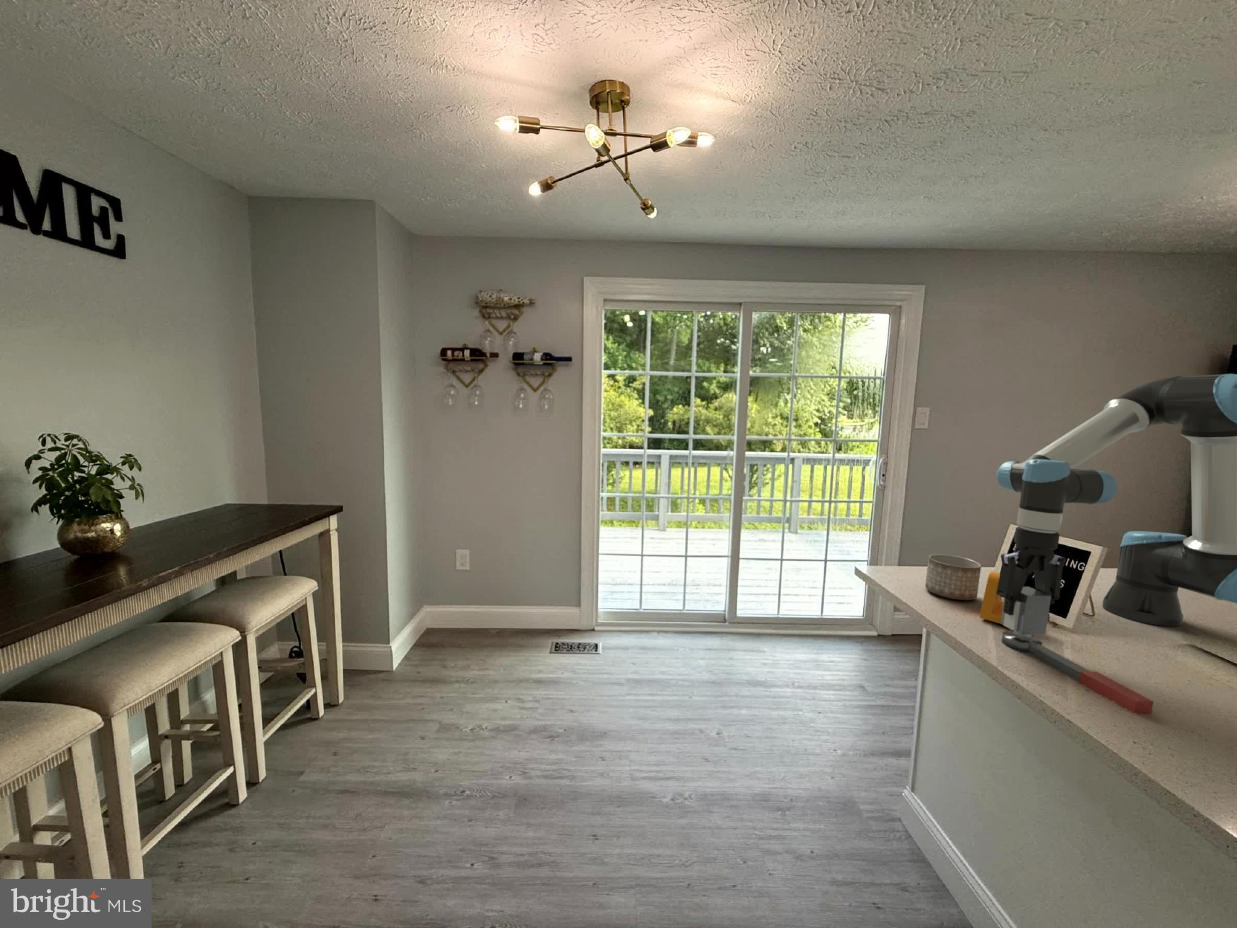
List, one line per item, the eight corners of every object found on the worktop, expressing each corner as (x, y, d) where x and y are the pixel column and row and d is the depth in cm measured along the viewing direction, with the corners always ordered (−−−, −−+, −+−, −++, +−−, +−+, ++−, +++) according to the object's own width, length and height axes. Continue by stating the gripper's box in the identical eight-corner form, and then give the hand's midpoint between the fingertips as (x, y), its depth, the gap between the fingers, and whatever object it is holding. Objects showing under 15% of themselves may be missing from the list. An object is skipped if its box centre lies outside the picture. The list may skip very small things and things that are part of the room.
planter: (987, 604, 138) (992, 568, 137) (942, 602, 139) (946, 566, 137) (957, 588, 151) (961, 554, 150) (915, 586, 151) (919, 553, 150)
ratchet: (994, 638, 117) (997, 612, 116) (1021, 639, 117) (1025, 612, 117) (1124, 713, 89) (1130, 679, 88) (1160, 713, 89) (1166, 679, 88)
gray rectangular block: (1023, 623, 116) (1028, 586, 115) (1045, 634, 111) (1051, 596, 109) (1000, 623, 116) (1006, 586, 115) (1021, 634, 110) (1027, 595, 109)
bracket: (1014, 630, 122) (1021, 584, 120) (979, 620, 127) (985, 575, 126) (1024, 619, 129) (1030, 575, 127) (990, 610, 134) (996, 567, 133)
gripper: (1060, 525, 115) (1045, 621, 117) (984, 523, 113) (971, 620, 116) (1093, 534, 107) (1076, 636, 110) (1012, 532, 106) (998, 635, 109)
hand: (1022, 627), depth 113 cm, fingers closed on gray rectangular block, 6 cm apart
